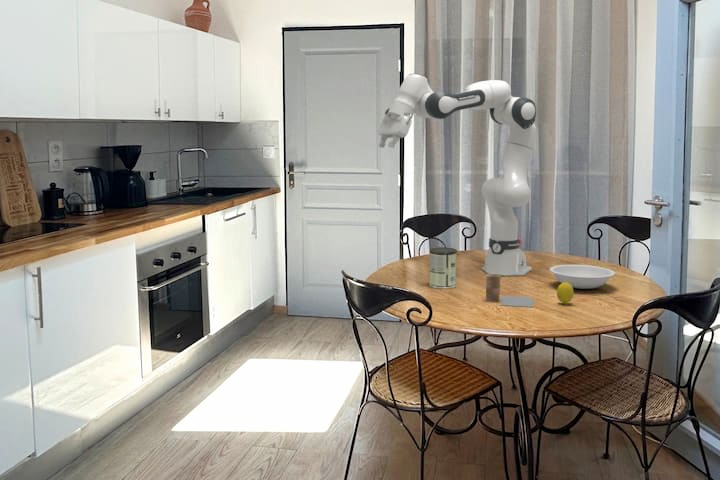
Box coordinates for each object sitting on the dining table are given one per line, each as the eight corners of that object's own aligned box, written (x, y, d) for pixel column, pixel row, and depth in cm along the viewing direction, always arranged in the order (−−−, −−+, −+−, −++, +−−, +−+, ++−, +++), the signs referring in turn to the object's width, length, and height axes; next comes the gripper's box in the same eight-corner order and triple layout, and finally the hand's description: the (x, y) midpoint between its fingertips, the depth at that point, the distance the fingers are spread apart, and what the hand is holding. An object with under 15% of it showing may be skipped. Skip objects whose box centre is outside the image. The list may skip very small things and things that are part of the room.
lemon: (554, 302, 264) (555, 280, 262) (569, 302, 264) (570, 279, 263) (559, 306, 258) (560, 283, 257) (575, 306, 259) (576, 283, 257)
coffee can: (432, 282, 295) (433, 246, 293) (458, 284, 292) (459, 248, 289) (425, 287, 285) (426, 250, 283) (452, 289, 282) (453, 252, 280)
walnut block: (485, 301, 265) (486, 276, 263) (486, 298, 269) (487, 273, 267) (498, 302, 264) (499, 276, 262) (499, 299, 268) (500, 274, 266)
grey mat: (500, 305, 259) (500, 304, 259) (501, 296, 272) (501, 295, 272) (533, 307, 257) (533, 306, 256) (533, 297, 270) (533, 297, 270)
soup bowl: (613, 297, 272) (614, 279, 271) (545, 291, 280) (546, 274, 279) (615, 283, 294) (616, 267, 293) (552, 278, 303) (553, 262, 301)
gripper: (419, 116, 273) (404, 151, 273) (397, 118, 292) (382, 150, 292) (405, 108, 271) (389, 143, 270) (383, 111, 290) (368, 143, 289)
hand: (385, 147), depth 281 cm, fingers open, 8 cm apart
